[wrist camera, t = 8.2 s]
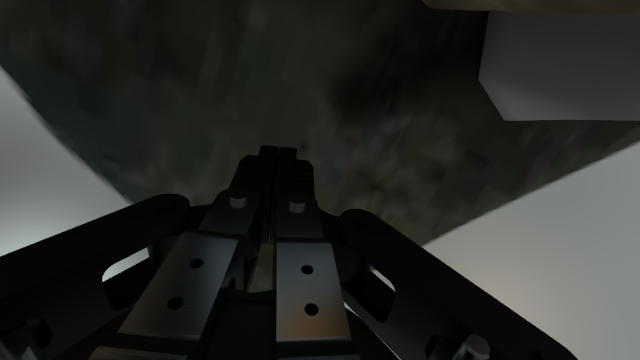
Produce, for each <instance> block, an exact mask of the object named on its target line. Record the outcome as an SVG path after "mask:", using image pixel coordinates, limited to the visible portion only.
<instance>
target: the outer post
mask: <svg viewBox="0 0 640 360" xmlns="http://www.w3.org/2000/svg"><path fill="white" fill-rule="evenodd" d="M422 1H423V2H424V3H425V4H426V5H427V6H429V7H431V8H433V9H446V10H481V11H516V12H551V13H586V14H628V13H633V12H637V11H640V0H422Z"/></svg>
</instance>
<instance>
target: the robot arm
mask: <svg viewBox="0 0 640 360" xmlns="http://www.w3.org/2000/svg"><path fill="white" fill-rule="evenodd" d="M278 152H279V155H278ZM296 154H297V148H288V147H280V149H279V147H277V146H267V145H261V148H260V151H259V154H258V156H253V155H247V156H246V157H244V158H243V159H241V160H240V162H239V165H238V168H237V170H236V173H235V175H234V177H233V179H232V182H231V184H230V187H229V189H226V190H224V191H222V192H220V193H219V194H218V195H217V197H216V199H215V200H214V202H213V203H212V204H208V205H201V206H192V207H190V202H189V200H188V199H187V198H186V197H184V196H182V195H178V194H161V195H157V196H154V197H151V198H148V199H146V200H143V201H141V202H138V203H136V204H133V205H130V206H128V207H125V208H123V209H120V210H118V211H116V212H113V213H110V214H108V215H105V216H102V217H100V218H97V219H95V220H92V221H90V222H87V223H85V224H82V225H80V226H77V227H75V228H72V229H69V230H67V231H64V232H62V233H59V234H57V235H54V236H52V237H49V238H46V239H44V240H42V241H39V242H36V243H34V244H31V245H29V246H26V247H23V248H21V249H19V250H16V251H13V252H11V253H8V254H6V255H3V256H1V257H0V360H399V359H398V358H397V357H396V355H398V357H399V358H400V359H401V360H578V359H577V358H576V357H575V356H574V355H573V354H572V353H571V352H570V351H569V350H568V349H567V348H565V347H564V346H562V345H561V344H560V343H559V342H557V341H556V340H554V339H553V338H551V337H550V336H548V335H547V334H546V333H544V332H543V331H541V330H540V329H538V328H537V327H536V326H534V325H533V324H531V323H530V322H528V321H527V320H526V319H524V318H522V317H521V316H520V315H518V314H517V313H515V312H514V311H513V310H511V309H510V308H508V307H507V306H505V305H504V304H502V303H501V302H499V301H498V300H497V299H495V298H494V297H492V296H491V295H489V294H488V293H486V292H485V291H484V290H482V289H481V288H479V287H478V286H476V285H475V284H474V283H472V282H471V281H469V280H468V279H466V278H465V277H463V276H462V275H461V274H459V273H458V272H456V271H455V270H453V269H452V268H451V267H449V266H448V265H446V264H445V263H443V262H442V261H441V260H439V259H438V258H436V257H435V256H433V255H432V254H430V253H429V252H427V251H426V250H425V249H423V248H422V247H420V246H419V245H417V244H416V243H415V242H413V241H412V240H410V239H409V238H407V237H406V236H405V235H403V234H402V233H400V232H399V231H397V230H396V229H394V228H393V227H392V226H390V225H389V224H387V223H386V222H384V221H383V220H381V219H380V218H379V217H377V216H376V215H374V214H373V213H371V212H368V211H366V210H362V209H349V210H346V211H344V212H343V213H342V214H341V215H340V217H337V216H334V215H331V214H328V213H326V212H324V211H322V210H321V209H320V208H319V207H318V204H317V201H316V200H315V194H314V175H313V174H314V173H313V166H312V165H311V164H310V162H309V161H307V160H296ZM269 231H270V241H269V244H274V247H273V262H272V290H269V291H262V292H256V293H250V292H249V289H250V286H251V282H252V279H253V275H254V272H255V268H256V265H257V261H258V253H259V251H260V246H261V244H268V237H269ZM146 247H147V249H148V254H149V258H147V259H145V260H143V261H141V262H139V263H138V264H136V265H134V266H132V267H130V268H128V269H126V270H125V271H123V272H121V273H119V274H117V275H115V276H113V277H112V278H110V279H108V280H106V281H104V282H102V277H103V274H104V273H105V271H106V270H107V269H108V268H109V267H110V266H111V265H113V264H115V263H117V262H119V261H120V260H123V259H124V258H127V257H129V256H131V255H132V254H134V253H136V252H138V251H140V250H142V249H144V248H146ZM371 266H372V267H374V268H375V269H376V270H377V271H378V272H380V273H381V274H382V275H383V276H384V277H386V278H387V279H388V280H389V281H390V282H391V283H392V285H393V286H394V288H395V291H396V292H395V291H394V290H392V289H391V288H390V287H389V286H388V285H387V284H385V283H384V282H383V281H382V280H381V279H380V278H378V277H377V276H376V275H375V274H374V273H373V272H371V271H370V268H371ZM344 302H345V303H346V304H347V305H348V306H349V307H350V308H351V309H352V310H353V311H354V312H355V313H356V314H357V315H358V316H359V317H360V318H361V319H360V318H359V317H358V316H357V315H356V314H354V313H353V312H351V311H350V310H348V309H347V308H345V306H344ZM370 328H371V329H372V330H373V331H374V332H375V333H376V334H377V335H378V336H379V337H380V338H381V339H380V338H379V337H378V336H377V335H376V334H375V333H374V332H373V331H372V330H371V329H370ZM382 340H383V341H382ZM383 342H384V343H385V344H386V345H387V346H388V347H389V348H390V349H391V350H392V351H393V352H395V354H396V355H394V353H393V352H392V351H391V350H390V349H389V348H388V347H387V346H386V345H385V344H384V343H383Z"/></svg>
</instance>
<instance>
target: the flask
mask: <svg viewBox="0 0 640 360" xmlns="http://www.w3.org/2000/svg"><path fill="white" fill-rule="evenodd" d="M479 81H480V83H481V84H482V86H483V87H484V89H485V91H486V92H487V94H488V95H489V97H490V99H491V100H492V102H493V103H494V105H495V106H496V108H497V110H498V111H499V113H500V114H501V116H502V118H503V119H504V120H518V121H520V120H563V119H572V120H640V11H637V12H633V13H628V14H586V13H551V12H516V11H491V12H489V15H488V21H487V27H486V34H485V40H484V47H483V53H482V59H481V66H480V72H479Z"/></svg>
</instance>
